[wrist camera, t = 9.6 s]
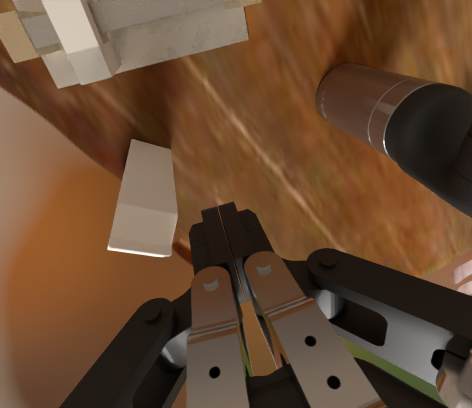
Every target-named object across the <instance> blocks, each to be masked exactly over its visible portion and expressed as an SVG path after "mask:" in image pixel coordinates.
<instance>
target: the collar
mask: <svg viewBox="0 0 472 408" xmlns="http://www.w3.org/2000/svg"><path fill="white" fill-rule="evenodd" d="M41 1H42V3H43V5H44V7H45V9H46V11H47V14H48V16H49V18H50V20H51V22H52V24H53V26H54V28H55V30H56V33H57V35H58V37H59V39H60V41H61V43H62V45H63V47H64V50H65V52H66V54H67V56H68V58H69V60H70V62H71V64H72V66H73V69H74V71H75V73H76V75H77V77H78V79H79V81H80V83H81V85H84V84H88V83H92V82H96V81H100V80H104V79H108V78H111V77H113V75H114V74H115V73H116V71H117V70H118V69H119V67H120V66H121V65H122V64H121V61H120V59H119V56H118V53H117V51H116V48H115V46H114V43H113V40H112V38H111V35H110V33H109V31H106V32H102V33H101V34H102V35H101V36H100V34H99V32H98V29H97V27H96V24H95V22H94V19H93V17H92V14H91V12H90V9H89V7H88V4H87V2H88V3H89V4H90V3H94V2H98V1H97V0H41Z"/></svg>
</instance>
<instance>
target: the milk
mask: <svg viewBox="0 0 472 408" xmlns="http://www.w3.org/2000/svg"><path fill="white" fill-rule="evenodd" d="M177 217H178V212H177V203H176V193H175V184H174V175H173V165H172V156H171V149H167V148H164V147H160V146H156V145H153V144H149V143H145V142H142V141H138V140H135V139H131V144H130V148H129V152H128V157H127V161H126V165H125V170H124V174H123V179H122V184H121V188H120V193H119V198H118V202H117V207H116V212H115V217H114V221H113V226H112V230H111V235H110V240H109V244H108V250H113V251H120V252H128V253H135V254H142V255H150V256H156V257H164V256H171V254H172V251H171V245H172V240H173V236H174V231H175V227H176V222H177Z"/></svg>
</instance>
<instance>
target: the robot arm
mask: <svg viewBox="0 0 472 408" xmlns="http://www.w3.org/2000/svg"><path fill="white" fill-rule="evenodd" d="M316 103H317V108H318V111H319V113H320V115H321V116H322V117H323V118H324V119H325V120H327V121H328V122H330V123H332V124H333V125H335V126H337V127H338V128H340V129H342V130H343V131H345V132H347V133H348V134H350V135H352V136H353V137H355V138H357V139H358V140H360V141H362V142H364V143H365V144H367V145H369V146H370V147H372V148H374V149H375V150H377V151H379V152H381V153H382V154H384V155H386V156H387V157H389V158H391V159H392V160H394V161H395V162H397V163H398V165H399V167H400V168H401V169H402V170H403V171H404V172H405V173H407V174H408V175H410V176H411V177H413V178H414V179H416V180H417V181H419V182H420V183H421V184H423V185H424V186H426V187H427V188H428V189H430V190H431V191H432V192H434V193H435V194H437V195H438V196H439V197H441V198H442V199H443V200H445V201H446V202H448V203H449V204H451V205H452V206H453V207H455V208H456V209H458V210H459V211H461V212H463V213H464V214H466V215H468V216H470V217H471V218H472V96H471V95H470V94H469V93H468V92H467V91H465V90H463V89H461V88H459V87H456V86H451V85H447V84H442V83H438V82H434V81H429V80H425V79H420V78H415V77H411V76H406V75H402V74H398V73H393V72H389V71H384V70H380V69H375V68H371V67H367V66H362V65H358V64H353V63H345V64H341V65H339V66H337V67H335V68H334V69H332V70H331V71H330V72H329V73H328V74H327V75H326V76H325V77H324V79H323V80H322V82H321V84H320V86H319V88H318V92H317V98H316ZM218 208H219V212H220V216H221V219H222V222H221V219H220V216H219V213H218V209H217V206H216V207H213V208H209V209H206V210H202V211H201V214H202V218H203V222H201V223H198V224H194V225H192V227H191V229H190V232H189V239H190V246H191V254H192V261H193V268H194V278H193V280H192V282H191V287H190V289H189V290H188V291H187V292H186V293H184V294H183V295H182V296H180V297H179V298H177V299H175V300H174V301H172V302H170V301H169V300H167V299H164V298H156V299H152V300H149V301H147V302H146V303H144V304H143V305H141V306H140V307H139V308H138V309H137V311H136V312H135V313H134V314H133V316H132V317H131V318H130V319H129V321H128V322H127V323H126V324H125V326H124V327H123V328H122V329H121V331H120V332H119V333H118V334H117V336H116V337H115V338H114V339H113V341H112V342H111V343H110V344H109V346H108V347H107V348H106V349H105V351H104V352H103V353H102V355H101V356H100V357H99V358H98V360H97V361H96V362H95V363H94V365H93V366H92V367H91V368H90V370H89V371H88V372H87V373H86V375H85V376H84V377H83V378H82V380H81V381H80V382H79V383H78V385H77V386H76V387H75V388H74V390H73V391H72V392H71V393H70V395H69V396H68V397H67V398H66V400H65V401H64V402H63V403H62V405H61V406H60V407H59V408H171V406H172V404H173V402H174V401H175V399H176V397H177V395H178V393H179V391H180V390H181V388H182V386H183V384H184V382H185V380H186V379H187V408H448V407H449V408H472V296H469V295H466V294H464V293H461V292H458V291H454V290H452V289H449V288H446V287H443V286H440V285H437V284H434V283H431V282H429V281H426V280H423V279H420V278H417V277H414V276H411V275H408V274H405V273H402V272H400V271H397V270H394V269H391V268H388V267H385V266H382V265H379V264H376V263H373V262H370V261H368V260H365V259H362V258H359V257H356V256H353V255H350V254H347V253H344V252H341V251H338V250H335V249H330V248H324V249H319V250H316V251H314V252H313V253H311V254H310V255H309V257H308V259H307V261H290V260H285V259H283V258H281V257H280V256H279V255H277V254H276V253H275V252H274V250H273V248H272V246H271V244H270V242H269V240H268V238H267V236H266V234H265V232H264V230H263V229H262V226H261V224H260V222H259V220H258V218H257V216H256V214H255V213H253V212H252V211H250V210H249V209H246V210H243V211H239V212H238V211H237V209H236V206H235V204H234V202H230V203H227V204H223V205H220V206H218ZM222 223H223V226H222ZM223 227H224V229H223ZM224 230H225V232H224ZM225 234H226V236H225ZM226 237H227V239H226ZM227 241H228V242H227ZM228 244H229V245H228ZM229 248H230V249H229ZM230 251H231V252H230ZM231 254H232V255H231ZM232 257H233V258H232ZM233 261H234V262H233ZM234 264H235V266H234ZM235 267H236V269H235ZM236 271H237V273H236ZM237 274H238V277H239V280H240V284H241V287H242V290H243V293H244V297H245V300H246V302H247V301H250V300H251V301H252V304H253V307H254V311H255V314H256V318H257V321H258V323H259V326H260V328H261V330H262V333H263V335H264V337H265V340H266V342H267V344H268V347H269V349H270V352H271V354H272V356H273V358H274V361H275V364H276V367H277V370H276V371H274V372H273V373H272V374H270V375H267V376H253V372H252V367H251V362H250V356H249V351H248V345H247V340H246V335H245V329H244V324H243V320H242V318H243V314H242V310H241V307H240V304H241V303H244V299H243V296H242V291H241V288H240V284H239V280H238V277H237ZM339 336H341V337H343V338H344V339H346V340H349V341H350V342H352V343H354V344H356V345H358V346H360V347H362V348H364V349H366V350H368V351H369V352H371V353H373V354H375V355H377V356H379V357H381V358H383V359H385V360H387V361H388V362H391V363H392V364H394V365H396V366H398V367H400V368H402V369H404V370H406V371H408V372H410V373H411V374H413V375H415V376H417V377H419V378H421V379H423V380H425V381H427V382H429V383H431V384H433V385H434V386H436V388H437V391H438V393H439V395H440V397H441V399H442V400H443V401H444V403H445V404H446V405H447V406H448V407H446V406H445V405H443V404H441V403H439V402H438V401H436V400H434V399H433V398H431V397H429V396H427V395H425V394H424V393H422V392H420V391H419V390H417V389H415V388H414V387H412V386H410V385H408V384H406V383H405V382H403V381H401V380H400V379H398V378H396V377H395V376H393V375H391V374H389V373H387V372H386V371H384V370H382V369H381V368H379V367H377V366H375V365H373V364H371V363H369V362H367V361H365V360H361V359H358V358H354V357H353V356H352V355H351V354H350V352H349V350H348V349H347V348H346V346H345V344H344V343H343V341H342V340H341V338H340V337H339Z"/></svg>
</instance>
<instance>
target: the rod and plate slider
mask: <svg viewBox="0 0 472 408" xmlns="http://www.w3.org/2000/svg"><path fill="white" fill-rule="evenodd" d="M97 1H98V2H94V3H90V4H89V3H88V2H87V4H88V7H89V9H90V12H91V14H92V17H93V19H94V22H95V24H96V27H97V29H98V32H99V34H100V36H101V35H102V34H101V33H102V32H106V31H109V33H110V35H111V38H112V40H113V43H114V46H115V48H116V51H117V53H118V56H119V59H120V61H121V64H122V65H121V66H120V67H119V69H118V70H117V71H116V73H115V74H117V73H120V72H124V71H128V70H132V69H136V68H140V67H144V66H148V65H152V64H156V63H159V62H163V61H167V60H171V59H175V58H179V57H183V56H187V55H191V54H195V53H198V52H202V51H206V50H210V49H214V48H218V47H222V46H226V45H230V44H234V43H237V42H241V41H245V40H249V38H248V32H247V25H246V19H245V13H244V6H248V5H252V4H256V3H260V2H262V1H261V0H97ZM13 2H14V4H15V6H16V8H17V10H18V11H11V12H6V13H2V14H0V39H1V40H2V42H3V44H4V46H5V47H6V49H7V51H8V53H9V54H10V56H11V58H12V60H13V61H14V63H17V62H21V61H25V60H29V59H33V58H37V57H41V56H42V58H43V60H44V62H45V64H46V66H47V68H48V70H49V72H50V74H51V76H52V78H53V80H54V82H55V84H56V85H57V87H58V88H62V87H66V86H70V85H74V84H78V83H80V81H79V79H78V77H77V75H76V73H75V71H74V69H73V66H72V64H71V62H70V60H69V58H68V56H67V54H66V52H65V50H64V47H63V45H62V43H61V41H60V39H59V37H58V35H57V33H56V30H55V28H54V26H53V24H52V22H51V20H50V18H49V16H48V14H47V11H46V9H45V7H44V5H43V3H42V1H41V0H13Z"/></svg>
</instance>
